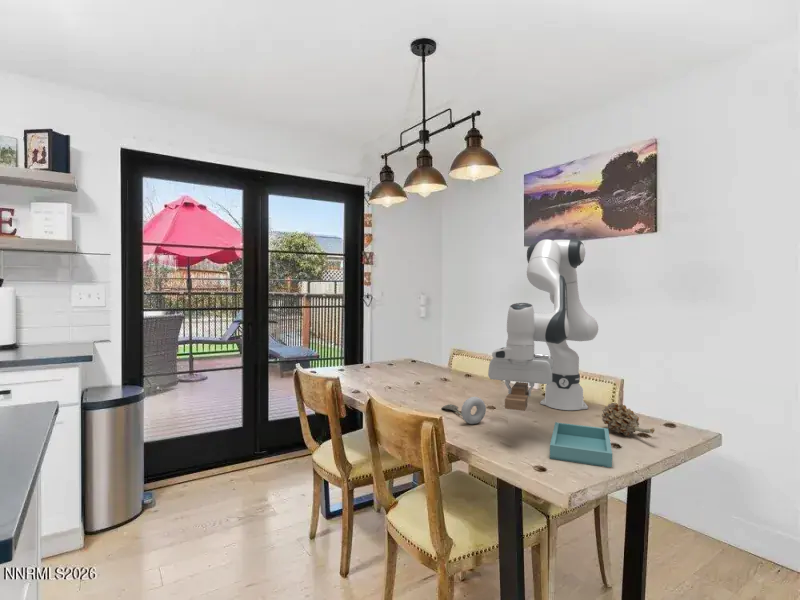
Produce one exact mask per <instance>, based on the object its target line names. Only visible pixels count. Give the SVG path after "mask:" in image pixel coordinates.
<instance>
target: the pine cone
mask: <svg viewBox="0 0 800 600" xmlns="http://www.w3.org/2000/svg"><path fill="white" fill-rule="evenodd" d="M601 411H602V415H601V417H602V418H601V420H602V422H603V424H604V425H607V429H609V430H611V431H613V430H614V433H618V434H622V435H623V436H626V437H629V436H630V435H633V434H634V433H635V432H639V433H645V434H654V432H655V431H656V430H655V428H654V427H651V428H642V427H639V425H640V422H639V421H640V418H639V416H638V415H637V414H635V411H633V410H631V408H627V406H626V405H625V404H622V403H620V404H619V403H618V402H611V403H608V404H607V406H604V409H603V410H601Z"/></svg>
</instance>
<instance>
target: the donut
mask: <svg viewBox="0 0 800 600" xmlns="http://www.w3.org/2000/svg"><path fill="white" fill-rule="evenodd" d="M486 406H487V405H486V403H485V401H484V400H483V399H482V398H480V397H478V396H470V397H469V398H466V400H465V401H464V402H463V404H462V405H461V411H460V413H461V414H462V416H461V418H462V419H463V420H464V422H465V423H466V422H467V423H466V424H469V425H476V424H479V423H481V421H483V419H484V418H485V415H486V412H487V411H486V410H487V408H486ZM474 407H475V408H476V411H475V413H473V414H472V409H473V408H474Z"/></svg>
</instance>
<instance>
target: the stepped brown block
mask: <svg viewBox="0 0 800 600" xmlns="http://www.w3.org/2000/svg"><path fill="white" fill-rule="evenodd" d="M511 388H512V394H508V393H507V395H506V397H505V398H504V409H507V410H516V411H525V412H526V411H527V407H528V405H529V404H528V403H529V399H528V398H529V396H526V390H529V383H528V382H516V381H515V383H514V384H513V386H512V387H511Z"/></svg>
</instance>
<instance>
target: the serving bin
mask: <svg viewBox="0 0 800 600" xmlns="http://www.w3.org/2000/svg"><path fill="white" fill-rule="evenodd" d="M550 438H551V439H550V443H549V459H550V460H557V461H563V462H569V463H577V464H584V465H591V466H595V467H596V466H597V467H602V466H604V467H603V468H609V467H612V468H613V450H612V444H611V438H610V431H609V428H608V427H607V428H606V427H597V426H591V425H590V426H589V425H581V424H572V423H565V422H558V421H555V422H554V426H553V431H552V435H551V437H550Z"/></svg>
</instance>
